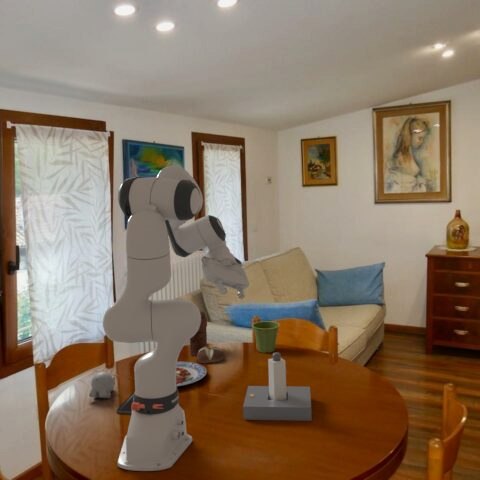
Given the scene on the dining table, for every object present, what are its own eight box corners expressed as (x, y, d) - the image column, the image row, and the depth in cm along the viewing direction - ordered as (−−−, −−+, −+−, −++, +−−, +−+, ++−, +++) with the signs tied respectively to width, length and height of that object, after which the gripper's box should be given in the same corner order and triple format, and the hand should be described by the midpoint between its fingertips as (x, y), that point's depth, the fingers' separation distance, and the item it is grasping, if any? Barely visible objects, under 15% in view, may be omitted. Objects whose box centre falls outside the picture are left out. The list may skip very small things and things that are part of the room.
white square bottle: (286, 408, 155) (285, 354, 153) (274, 410, 153) (273, 356, 152) (281, 403, 158) (279, 350, 157) (269, 405, 157) (268, 352, 155)
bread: (195, 364, 200) (194, 352, 200) (199, 355, 211) (198, 343, 211) (223, 364, 199) (222, 351, 199) (225, 355, 211) (225, 343, 210)
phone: (115, 411, 156) (133, 392, 171) (115, 414, 156) (133, 395, 171) (139, 412, 155) (155, 392, 170) (139, 415, 155) (155, 396, 170)
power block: (311, 420, 147) (311, 406, 146) (243, 419, 149) (243, 405, 149) (310, 398, 163) (309, 386, 162) (248, 397, 165) (248, 385, 165)
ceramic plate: (122, 380, 185) (121, 372, 185) (177, 362, 203) (177, 355, 203) (164, 398, 167) (164, 390, 167) (221, 377, 185) (220, 369, 185)
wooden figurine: (194, 347, 222) (193, 307, 220) (209, 347, 221) (207, 307, 219) (187, 356, 210) (185, 313, 208) (202, 356, 209) (200, 314, 207)
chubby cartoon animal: (121, 399, 174) (124, 373, 176) (104, 399, 163) (108, 372, 165) (102, 397, 176) (106, 372, 178) (84, 397, 165) (88, 370, 167)
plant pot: (249, 354, 210) (248, 327, 209) (256, 345, 221) (255, 320, 220) (276, 355, 207) (276, 329, 206) (283, 347, 218) (282, 321, 217)
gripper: (207, 249, 164) (220, 285, 157) (244, 262, 180) (258, 295, 173) (193, 260, 167) (206, 295, 160) (231, 272, 182) (244, 305, 175)
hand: (233, 295), depth 166 cm, fingers open, 8 cm apart
